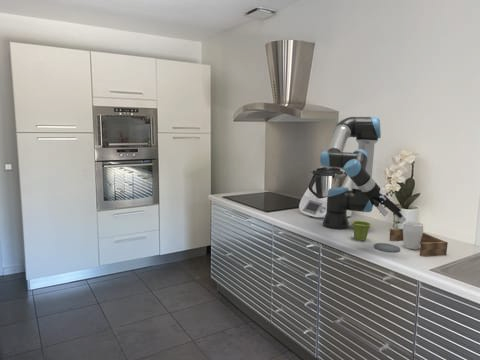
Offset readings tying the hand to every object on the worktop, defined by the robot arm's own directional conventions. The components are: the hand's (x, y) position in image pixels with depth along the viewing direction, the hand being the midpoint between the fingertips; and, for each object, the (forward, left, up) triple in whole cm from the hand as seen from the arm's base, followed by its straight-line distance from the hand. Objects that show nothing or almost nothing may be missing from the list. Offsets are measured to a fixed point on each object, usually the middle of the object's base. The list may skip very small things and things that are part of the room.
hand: (394, 217), depth 170 cm
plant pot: (-9, -15, -15) cm, 23 cm away
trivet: (+1, -2, -15) cm, 15 cm away
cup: (-5, +9, -15) cm, 19 cm away
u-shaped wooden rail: (-7, +12, -15) cm, 20 cm away
